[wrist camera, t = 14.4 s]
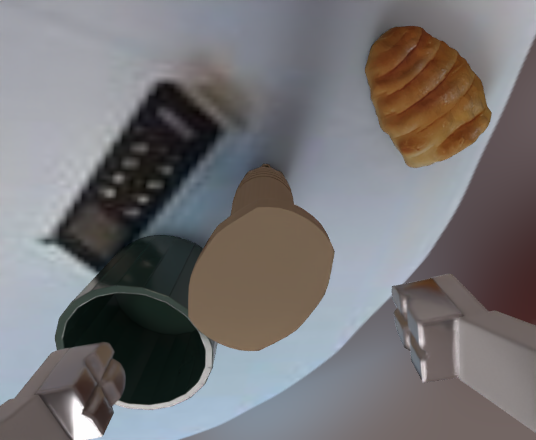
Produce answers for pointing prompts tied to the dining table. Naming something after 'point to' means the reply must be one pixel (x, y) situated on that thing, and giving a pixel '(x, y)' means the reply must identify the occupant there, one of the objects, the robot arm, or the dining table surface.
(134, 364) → the crock
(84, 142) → the dining table surface
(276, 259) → the handle
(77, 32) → the dining table surface
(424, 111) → the pastry
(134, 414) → the dining table surface
